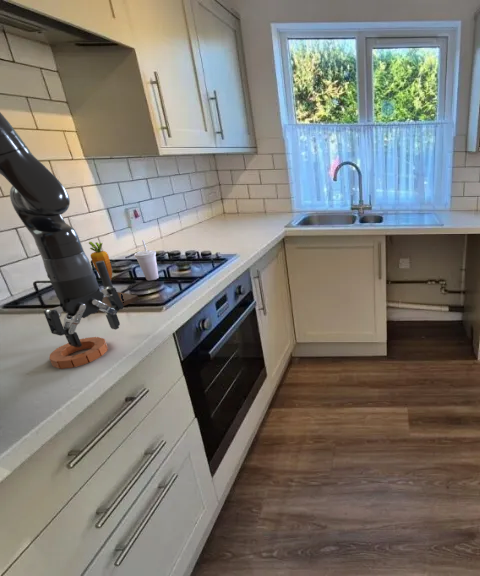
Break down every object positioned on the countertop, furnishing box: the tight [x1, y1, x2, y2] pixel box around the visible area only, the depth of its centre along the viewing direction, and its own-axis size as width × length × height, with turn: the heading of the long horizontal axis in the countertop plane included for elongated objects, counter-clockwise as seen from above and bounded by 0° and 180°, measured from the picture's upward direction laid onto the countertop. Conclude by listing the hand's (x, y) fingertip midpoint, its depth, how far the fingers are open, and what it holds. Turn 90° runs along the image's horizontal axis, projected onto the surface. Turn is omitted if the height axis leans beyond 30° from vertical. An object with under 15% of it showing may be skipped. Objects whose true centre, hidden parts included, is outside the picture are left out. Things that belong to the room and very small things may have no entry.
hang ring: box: [49, 336, 108, 370], centre depth 83 cm, size 10×10×2 cm
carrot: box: [88, 241, 113, 281], centre depth 122 cm, size 5×5×15 cm
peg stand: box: [96, 261, 139, 307], centre depth 106 cm, size 9×9×14 cm
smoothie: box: [134, 239, 160, 281], centre depth 125 cm, size 6×6×14 cm
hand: (97, 337), depth 86 cm, fingers open, 8 cm apart
